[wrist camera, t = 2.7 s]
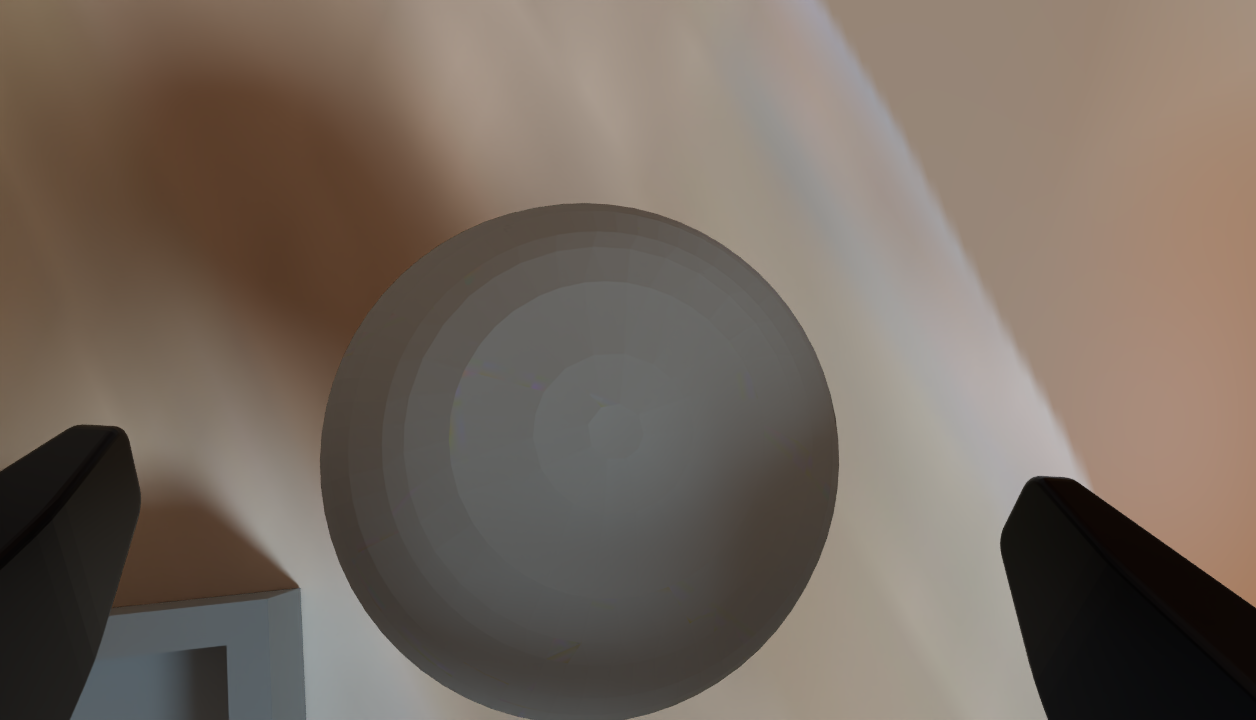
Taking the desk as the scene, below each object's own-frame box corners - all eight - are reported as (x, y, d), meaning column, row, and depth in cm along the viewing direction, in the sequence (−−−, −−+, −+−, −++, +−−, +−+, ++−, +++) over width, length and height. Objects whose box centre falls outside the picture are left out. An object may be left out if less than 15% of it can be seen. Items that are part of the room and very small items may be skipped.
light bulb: (379, 353, 17) (240, 138, 8) (669, 323, 18) (873, 94, 9) (409, 659, 17) (295, 851, 7) (711, 612, 18) (987, 722, 8)
